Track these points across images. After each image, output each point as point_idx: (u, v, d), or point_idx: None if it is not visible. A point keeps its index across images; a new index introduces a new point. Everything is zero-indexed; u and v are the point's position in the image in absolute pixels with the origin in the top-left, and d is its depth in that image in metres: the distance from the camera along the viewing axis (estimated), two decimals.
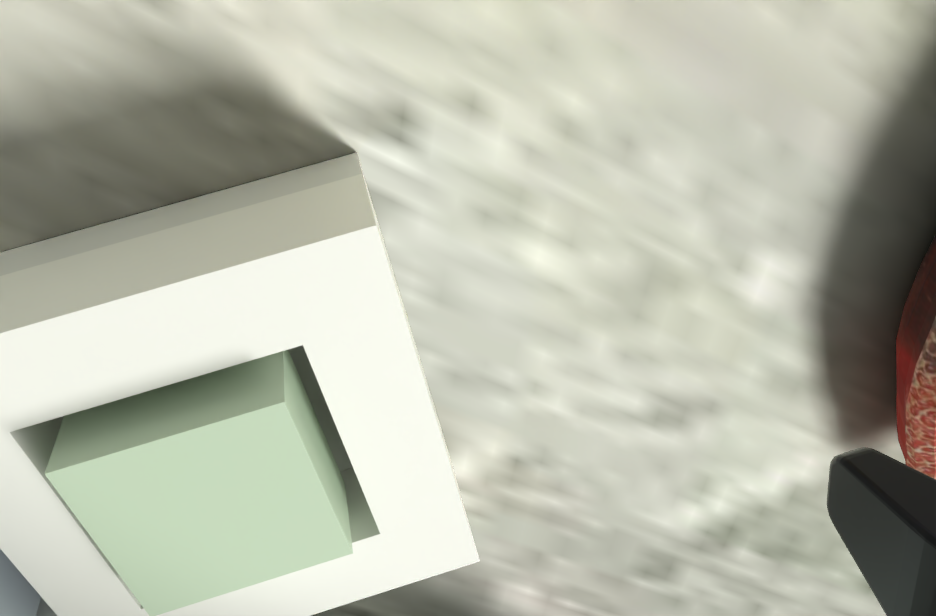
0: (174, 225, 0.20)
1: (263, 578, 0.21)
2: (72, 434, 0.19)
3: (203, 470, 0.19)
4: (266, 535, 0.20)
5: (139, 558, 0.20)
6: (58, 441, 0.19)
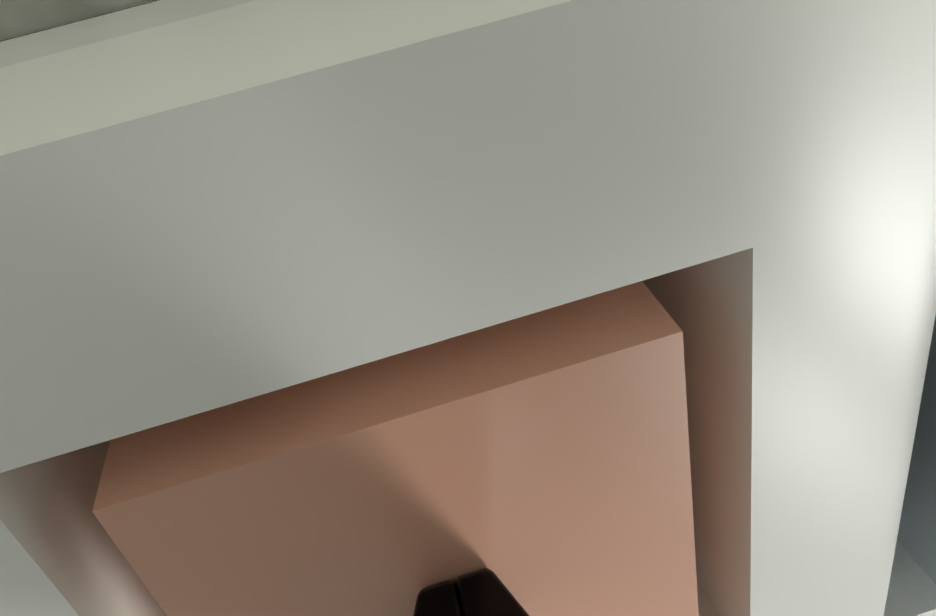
0: None
1: None
2: None
3: None
4: None
5: None
6: None
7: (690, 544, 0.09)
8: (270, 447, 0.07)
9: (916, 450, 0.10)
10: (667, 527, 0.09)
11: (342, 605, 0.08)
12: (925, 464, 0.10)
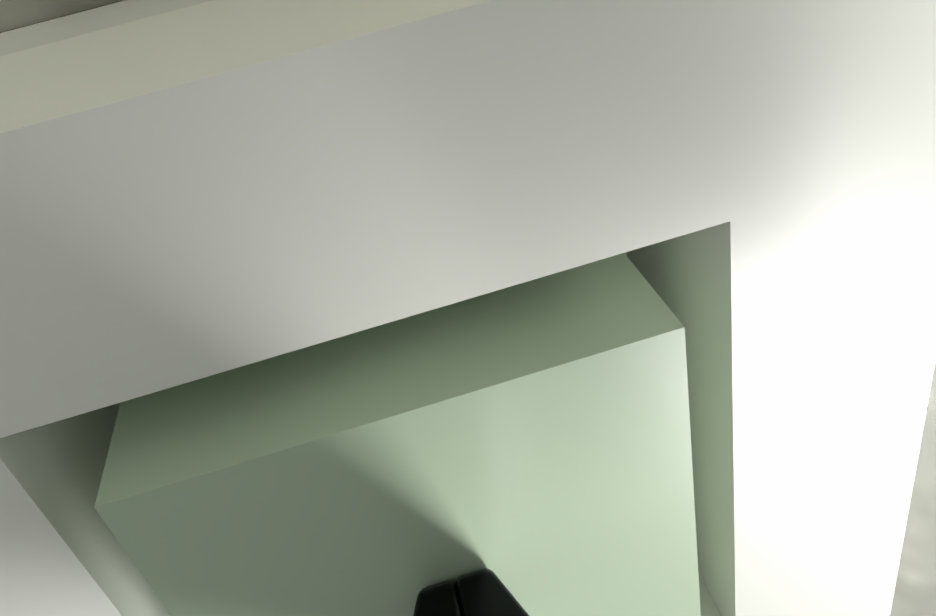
0: None
1: None
2: (152, 410, 0.08)
3: (466, 495, 0.08)
4: None
5: None
6: (121, 426, 0.08)
7: None
8: None
9: None
10: None
11: None
12: None
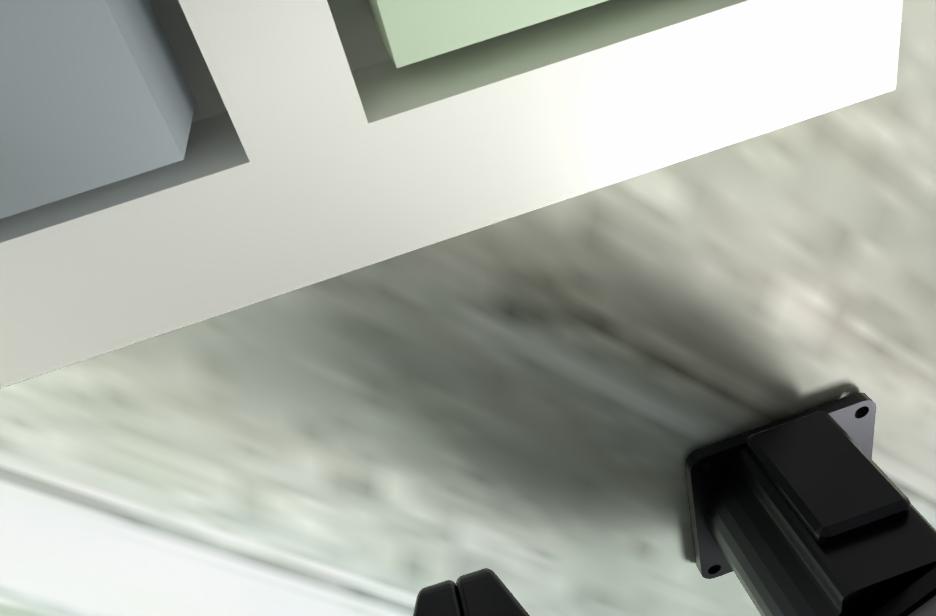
0: None
1: (583, 0, 0.12)
2: None
3: None
4: None
5: None
6: None
7: None
8: None
9: None
10: None
11: None
12: None
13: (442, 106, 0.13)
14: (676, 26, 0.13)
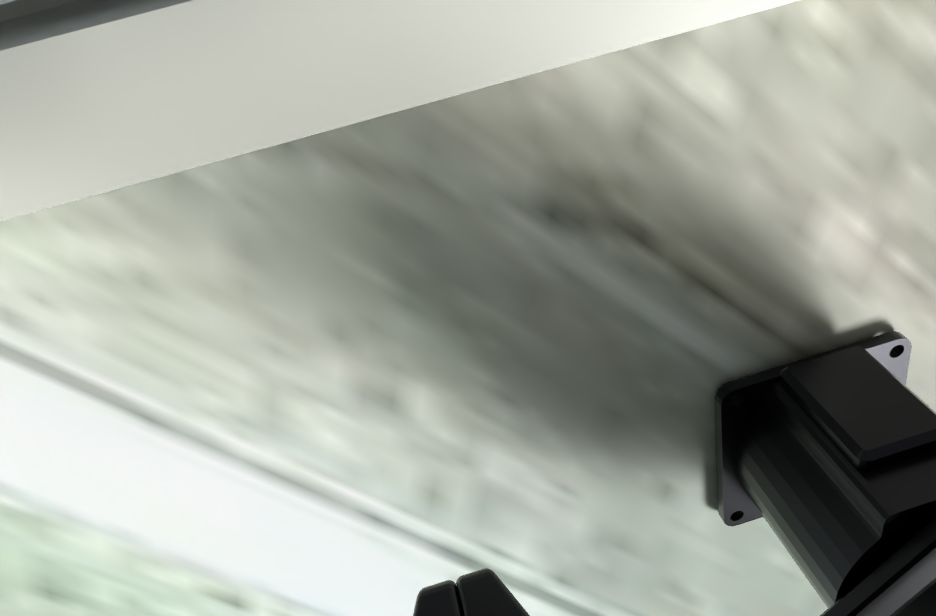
0: None
1: None
2: None
3: None
4: None
5: None
6: None
7: None
8: None
9: None
10: None
11: None
12: None
13: None
14: None
